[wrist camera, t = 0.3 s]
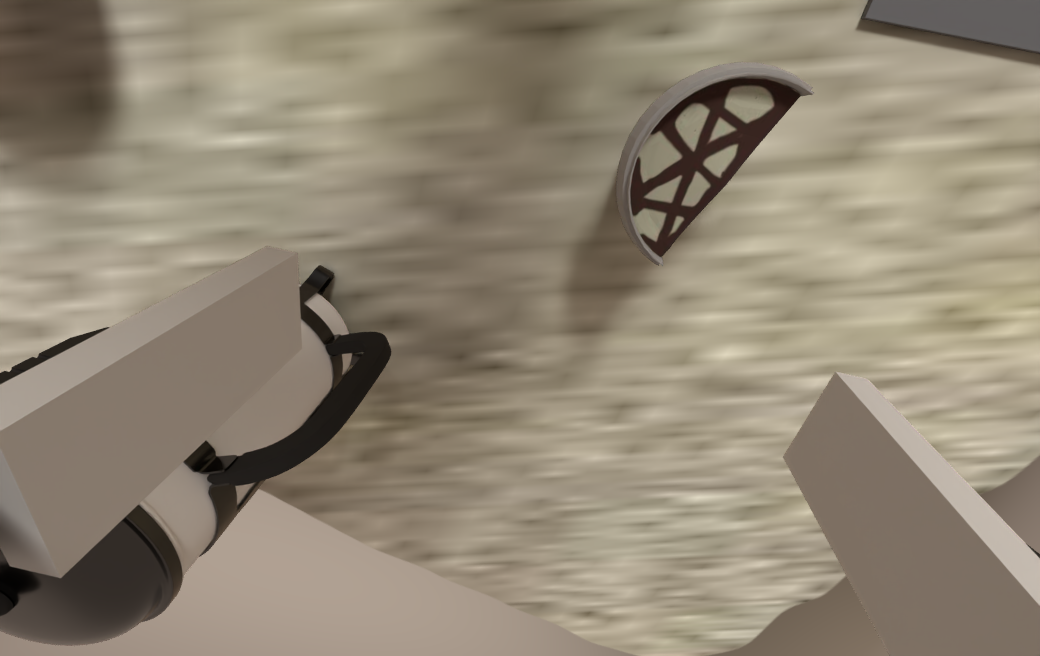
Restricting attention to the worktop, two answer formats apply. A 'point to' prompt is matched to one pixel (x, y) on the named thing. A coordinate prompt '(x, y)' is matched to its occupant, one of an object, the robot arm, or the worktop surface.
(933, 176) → the worktop surface
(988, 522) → the robot arm
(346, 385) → the coffee press
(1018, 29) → the rubber mat
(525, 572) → the worktop surface
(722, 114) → the food container
